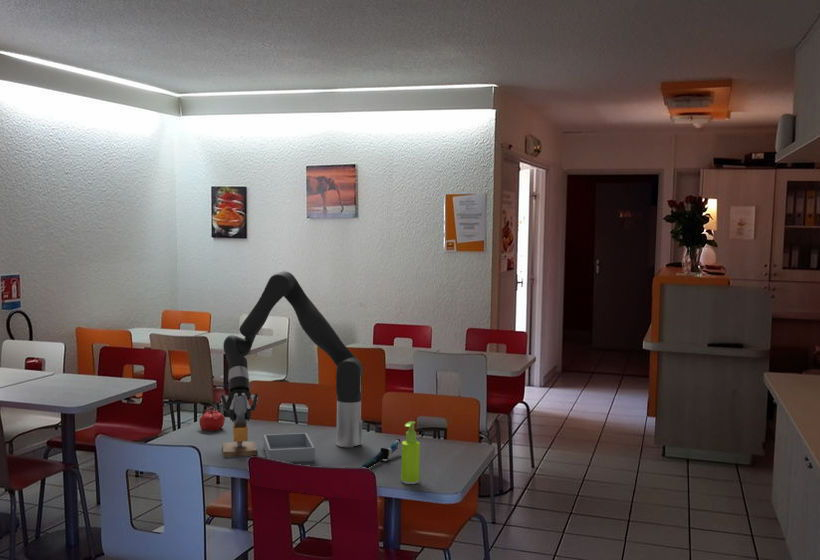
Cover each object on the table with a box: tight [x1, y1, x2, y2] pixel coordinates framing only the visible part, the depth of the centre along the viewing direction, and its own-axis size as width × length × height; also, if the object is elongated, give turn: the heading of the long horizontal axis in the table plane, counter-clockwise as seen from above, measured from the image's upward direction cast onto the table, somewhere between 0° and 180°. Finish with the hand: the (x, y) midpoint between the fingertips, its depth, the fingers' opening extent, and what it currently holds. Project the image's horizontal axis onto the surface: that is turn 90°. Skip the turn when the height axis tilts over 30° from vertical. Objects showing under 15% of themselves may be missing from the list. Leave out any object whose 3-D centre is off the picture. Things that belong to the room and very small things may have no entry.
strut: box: [232, 395, 249, 442], centre depth 283 cm, size 5×5×16 cm
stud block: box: [221, 440, 259, 458], centre depth 283 cm, size 12×12×6 cm
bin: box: [263, 432, 316, 464], centre depth 281 cm, size 16×21×5 cm
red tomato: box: [199, 406, 226, 432], centre depth 314 cm, size 10×10×9 cm
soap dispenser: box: [400, 420, 421, 482], centre depth 253 cm, size 6×7×20 cm
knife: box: [361, 438, 402, 468], centre depth 273 cm, size 31×3×4 cm, turn 150°
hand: (240, 419), depth 281 cm, fingers closed on strut, 4 cm apart
